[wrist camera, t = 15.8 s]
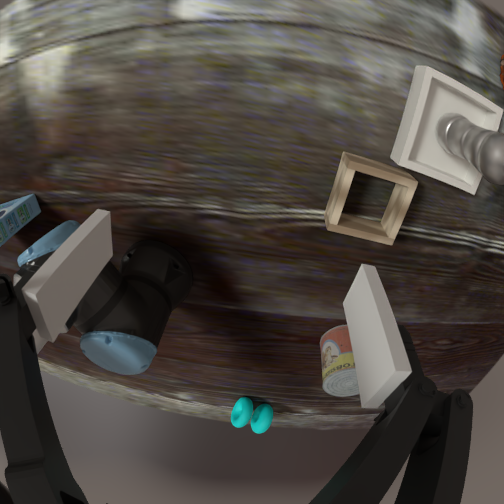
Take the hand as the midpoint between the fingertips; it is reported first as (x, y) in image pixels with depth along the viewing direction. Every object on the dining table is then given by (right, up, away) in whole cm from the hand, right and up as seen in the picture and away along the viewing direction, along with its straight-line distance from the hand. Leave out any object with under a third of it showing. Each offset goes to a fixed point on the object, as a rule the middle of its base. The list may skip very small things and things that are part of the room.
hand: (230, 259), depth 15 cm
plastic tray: (+32, +20, +23) cm, 44 cm away
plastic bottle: (+32, +20, +23) cm, 44 cm away
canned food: (+22, -20, +51) cm, 60 cm away
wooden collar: (+20, +10, +31) cm, 38 cm away
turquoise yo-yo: (+2, -45, +71) cm, 84 cm away
